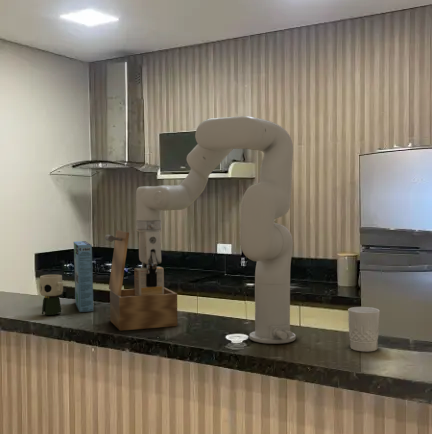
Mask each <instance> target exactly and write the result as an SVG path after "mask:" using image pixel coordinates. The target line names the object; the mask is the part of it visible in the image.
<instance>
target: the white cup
mask: <svg viewBox="0 0 432 434" xmlns="http://www.w3.org/2000/svg"><path fill="white" fill-rule="evenodd" d="M347 315H348V316H347V317H348V319H347V320H348V321H347V322H348V337H349V347H350V350H353V351H357V352H364V353H365V352H375V351H377V350H378V345H379V344H378V343H379V340H378V339H379V333H380V316H381V310H380V309H379V308H376V307H371V306H370V307H369V306H354V307H353V306H352V307H349V308H348V309H347Z"/></svg>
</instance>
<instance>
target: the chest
mask: <svg viewBox="0 0 432 434" xmlns="http://www.w3.org/2000/svg"><path fill="white" fill-rule="evenodd" d="M109 315H110V316H109V319H110V322H111V324H113V325H114V327H115V328H117V329H118V331H120V332H121V331H133V330H143V329H144V330H145V329H156V328H157V329H159V328H170V327H178V293H177V292H175V291H173V290H171V289H168V288H167V287H165V286H164V294H158V295H143V296H135V288H126V289H125V288H122V290H121V296H118V295H116V294H115V293H114V292H113V291H111V290H110V289H109Z"/></svg>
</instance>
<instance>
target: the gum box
mask: <svg viewBox="0 0 432 434" xmlns="http://www.w3.org/2000/svg"><path fill="white" fill-rule="evenodd" d="M73 261H74V263H73V264H74V265H73V266H74V298H75V300H74V301H75V302H74V304H75V305H76V308H77V310H78V312H79V313H86V312H87V313H88V312H94V280H93V279H94V278H93V277H94V276H93V245H92V244H91V243H89V242H88V241H86V240H84V241H83V240H80V241H79V240H77V241H73Z"/></svg>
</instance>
